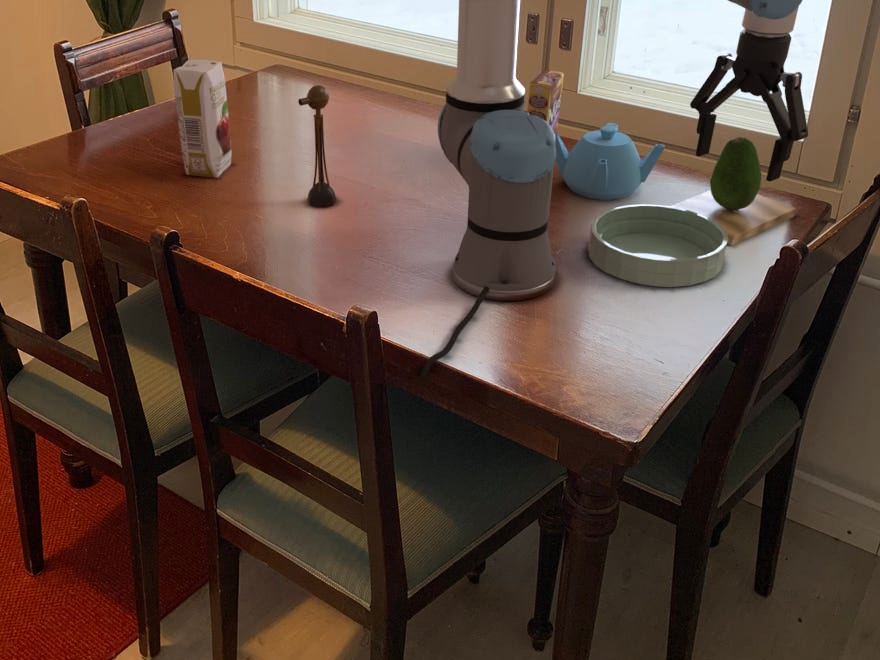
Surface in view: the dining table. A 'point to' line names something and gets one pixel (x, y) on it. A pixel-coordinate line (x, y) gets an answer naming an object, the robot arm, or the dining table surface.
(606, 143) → the teapot
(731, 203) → the avocado
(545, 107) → the candy box
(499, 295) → the robot arm
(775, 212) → the board
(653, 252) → the bowl
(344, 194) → the dining table surface
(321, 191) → the wooden tabletop sculpture
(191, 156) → the juice carton
